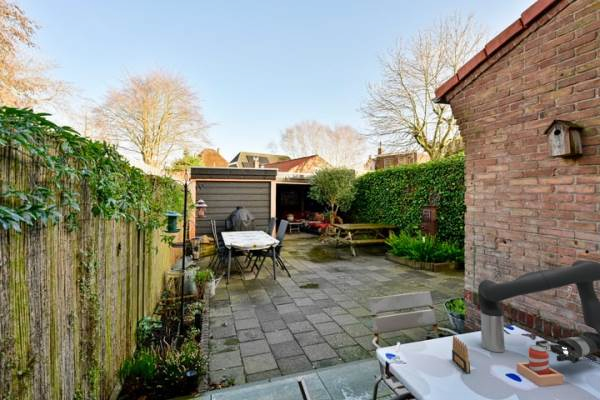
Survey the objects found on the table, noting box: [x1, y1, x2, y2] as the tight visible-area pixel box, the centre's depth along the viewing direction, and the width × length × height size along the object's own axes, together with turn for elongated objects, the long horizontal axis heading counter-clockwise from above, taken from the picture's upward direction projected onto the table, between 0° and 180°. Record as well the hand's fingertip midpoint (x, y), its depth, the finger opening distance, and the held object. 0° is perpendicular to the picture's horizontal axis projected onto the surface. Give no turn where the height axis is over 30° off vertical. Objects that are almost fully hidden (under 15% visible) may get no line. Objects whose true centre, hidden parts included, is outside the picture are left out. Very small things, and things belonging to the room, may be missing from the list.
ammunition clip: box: [451, 335, 471, 374], centre depth 125 cm, size 11×2×12 cm, turn 1°
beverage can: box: [527, 344, 550, 375], centre depth 116 cm, size 6×6×12 cm
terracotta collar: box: [516, 361, 565, 387], centre depth 115 cm, size 10×10×4 cm
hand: (545, 353), depth 117 cm, fingers open, 8 cm apart
